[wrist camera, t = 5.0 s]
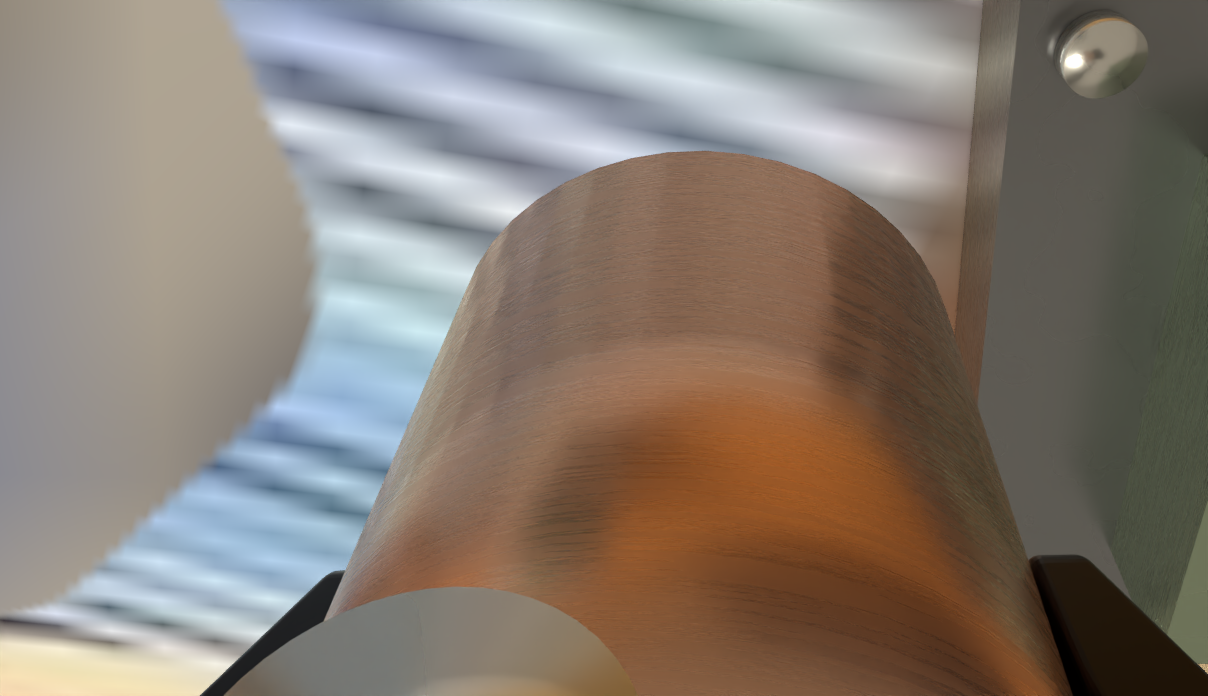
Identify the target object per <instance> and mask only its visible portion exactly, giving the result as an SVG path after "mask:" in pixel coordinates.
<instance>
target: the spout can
mask: <svg viewBox="0 0 1208 696" xmlns="http://www.w3.org/2000/svg"><path fill="white" fill-rule="evenodd" d="M223 696H1073V694H1072V691H1071V688H1070V685H1069V682H1068V679H1067V676H1066V673H1065V670H1064V667H1063V664H1062V661H1061V658H1060V655H1059V652H1058V648H1057V645H1056V642H1055V639H1054V636H1053V633H1052V630H1051V627H1050V624H1049V621H1048V618H1047V615H1046V612H1045V609H1044V606H1043V603H1042V600H1041V597H1040V594H1039V591H1038V588H1037V585H1036V582H1035V579H1034V576H1033V573H1032V570H1031V567H1030V564H1029V561H1028V557H1027V554H1026V551H1025V548H1024V545H1023V542H1022V539H1021V536H1020V533H1019V530H1018V527H1017V524H1016V521H1015V518H1014V515H1013V512H1012V509H1011V506H1010V503H1009V500H1008V497H1007V494H1006V491H1005V488H1004V485H1003V482H1002V479H1001V476H1000V473H999V470H998V467H997V463H996V460H995V457H994V454H993V451H992V448H991V445H990V442H989V439H988V436H987V433H986V430H985V427H984V424H983V421H982V418H981V415H980V412H979V409H978V406H977V403H976V400H975V397H974V394H973V391H972V388H971V385H970V382H969V379H968V376H967V373H966V369H965V366H964V363H963V360H962V357H961V354H960V351H959V348H958V345H957V342H956V339H955V336H954V333H953V330H952V327H951V324H950V321H949V318H948V315H947V312H946V309H945V306H944V304H943V301H942V298H941V296H940V293H939V291H938V288H937V285H936V283H935V281H934V279H933V277H932V276H931V274H930V272H929V271H928V269H927V267H926V265H925V264H924V262H923V260H922V259H921V257H920V255H919V254H918V253H917V252H916V251H915V249H914V248H913V247H912V246H911V244H910V243H909V242H908V241H907V239H906V238H905V237H904V236H903V235H902V233H901V232H900V231H899V230H898V229H897V228H896V227H894V226H893V225H892V224H891V223H890V222H889V221H888V220H887V219H886V218H885V217H883V216H882V215H881V214H880V213H879V212H878V211H877V210H876V209H874V208H873V207H871V206H870V205H868V204H867V203H866V202H864V201H863V200H861V199H860V198H858V197H857V196H855V195H854V194H852V193H851V192H849V191H848V190H846V189H844V188H842V187H840V186H838V185H836V184H834V183H832V182H830V181H828V180H826V179H824V178H822V177H820V176H818V175H816V174H814V173H811V172H808V171H805V170H802V169H799V168H796V167H793V166H790V165H788V164H785V163H782V162H778V161H774V160H769V159H764V158H759V157H754V156H750V155H745V154H736V153H724V152H712V151H691V152H667V153H661V154H655V155H649V156H643V157H637V158H631V159H628V160H624V161H621V162H617V163H614V164H611V165H607V166H604V167H600V168H597V169H595V170H592V171H590V172H588V173H586V174H583V175H581V176H579V177H577V178H574V179H572V180H570V181H568V182H565V183H564V184H562V185H560V186H559V187H557V188H556V189H554V190H552V191H551V192H549V193H547V194H546V195H544V196H542V197H541V198H539V199H538V200H536V201H535V202H534V203H533V204H531V205H530V206H529V207H528V208H527V209H525V210H524V211H523V212H522V213H521V214H519V215H518V216H517V217H516V218H514V219H513V220H512V221H511V222H510V224H509V225H508V226H507V227H506V228H505V229H504V230H503V231H502V232H501V233H500V235H499V236H498V237H497V238H496V239H495V240H494V241H493V242H492V244H491V245H490V247H489V248H488V250H487V252H486V253H485V255H484V256H483V258H482V259H481V261H480V262H479V264H478V265H477V267H476V269H475V271H474V274H473V276H472V278H471V280H470V283H469V285H468V287H467V289H466V291H465V294H464V296H463V298H462V301H461V303H460V305H459V308H458V310H457V312H456V315H455V317H454V319H453V322H452V324H451V326H450V329H449V331H448V333H447V336H446V338H445V340H444V343H443V345H442V347H441V350H440V352H439V354H438V357H437V359H436V361H435V364H434V366H433V368H432V371H431V373H430V375H429V377H428V380H427V382H426V384H425V387H424V389H423V391H422V394H421V396H420V398H419V401H418V403H417V405H416V408H415V410H414V412H413V415H412V417H411V419H410V422H409V424H408V426H407V429H406V431H405V433H404V436H403V438H402V440H401V443H400V445H399V447H398V450H397V452H396V454H395V456H394V459H393V461H392V463H391V466H390V468H389V470H388V473H387V475H386V477H385V480H384V482H383V484H382V487H381V489H380V491H379V494H378V496H377V498H376V501H375V503H374V505H373V508H372V510H371V512H370V515H369V517H368V519H367V522H366V524H365V526H364V529H363V531H362V533H361V536H360V538H359V540H358V542H357V545H356V547H355V549H354V552H353V554H352V556H351V559H350V561H349V563H348V566H347V568H346V570H345V573H344V575H343V577H342V580H341V582H340V584H339V587H338V589H337V591H336V594H335V596H334V598H333V601H332V603H331V605H330V608H329V610H328V612H327V615H326V617H325V619H324V621H323V622H322V623H320V624H318V625H316V626H314V627H313V628H311V629H309V630H307V631H306V632H304V633H302V634H301V635H299V636H297V637H295V638H294V639H292V640H290V641H289V642H288V643H286V644H285V645H283V646H282V647H280V648H279V649H278V650H276V651H275V652H273V653H272V654H270V655H269V656H268V657H266V658H265V659H264V660H262V661H261V662H260V663H259V664H258V665H256V666H255V667H254V668H253V669H252V670H250V671H249V672H248V673H247V674H246V675H244V676H243V677H242V678H241V679H240V680H239V681H238V682H237V683H236V684H235V685H234V686H233V687H232V688H231V689H230V690H229V691H228V692H227V693H226V694H225V695H223Z"/></svg>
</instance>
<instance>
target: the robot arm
mask: <svg viewBox="0 0 1208 696" xmlns="http://www.w3.org/2000/svg"><path fill="white" fill-rule="evenodd" d="M1029 564H1030V567H1031V570H1032V573H1033V576H1034V579H1035V582H1036V585H1037V588H1038V591H1039V594H1040V597H1041V600H1042V603H1043V606H1044V609H1045V612H1046V615H1047V618H1048V621H1049V624H1050V627H1051V630H1052V633H1053V636H1054V639H1055V642H1056V645H1057V648H1058V652H1059V655H1060V658H1061V661H1062V664H1063V667H1064V670H1065V673H1066V676H1067V679H1068V682H1069V685H1070V688H1071V691H1072V694H1073V696H1208V674H1207V673H1206V672H1205V671H1204V670H1203V669H1202V668H1201V667H1200V666H1199V665H1198V664H1197V663H1196V662H1195V661H1194V660H1193V659H1192V658H1191V657H1190V656H1188V655H1187V654H1186V653H1185V652H1184V651H1183V650H1182V649H1181V648H1180V647H1179V646H1178V645H1177V644H1176V643H1175V642H1174V641H1173V640H1172V639H1171V638H1170V637H1169V636H1168V635H1167V634H1166V633H1165V632H1164V631H1163V630H1162V629H1161V628H1159V627H1158V626H1157V625H1156V624H1155V623H1154V622H1153V621H1152V620H1151V619H1150V618H1149V617H1148V616H1147V615H1146V614H1145V613H1144V612H1143V611H1142V610H1141V609H1140V608H1139V607H1138V606H1137V605H1136V604H1135V603H1134V602H1133V601H1132V600H1130V599H1129V598H1128V597H1127V596H1126V595H1125V594H1124V593H1123V592H1122V591H1121V590H1120V589H1119V588H1118V587H1117V586H1116V585H1115V584H1114V583H1113V582H1112V581H1111V580H1110V579H1109V578H1108V577H1107V576H1106V575H1105V574H1104V573H1103V572H1102V571H1100V570H1099V569H1098V568H1097V567H1096V566H1095V565H1094V564H1093V563H1092V562H1091V561H1090V560H1088V559H1087V558H1085V557H1083V556H1080V555H1074V554H1070V555H1037V556H1033V557H1032V558H1030V559H1029ZM344 573H345V570H343V571H334V572H331V573H330V574H328V575H327V576H325V577H324V578H323V579H322V580H321V581H319V582H318V583H317V584H316V585H315V586H314V587H313V588H312V589H311V590H310V591H309V592H308V593H307V594H306V595H305V596H304V597H303V598H302V599H301V600H300V601H299V602H297V603H296V604H295V605H294V606H293V607H292V608H291V609H290V610H289V611H288V612H287V613H286V614H285V615H284V616H283V617H282V618H281V619H280V620H279V621H278V622H277V623H275V624H274V625H273V626H272V627H271V628H270V629H269V630H268V631H267V632H266V633H265V634H264V635H263V636H262V637H261V638H260V639H259V640H258V641H257V642H256V643H254V644H253V645H252V646H251V647H250V648H249V649H248V650H247V651H246V652H245V653H244V654H243V655H242V656H241V657H240V658H239V659H238V660H237V661H236V662H235V663H234V664H232V665H231V666H230V667H229V668H228V669H227V670H226V671H225V672H224V673H223V674H222V675H221V676H220V677H219V678H218V679H217V680H216V681H215V682H214V683H213V684H212V685H210V686H209V687H208V688H207V689H206V690H205V691H204V692H203V693H202V694H201V695H200V696H223V695H225V694H226V693H227V692H228V691H229V690H230V689H231V688H232V687H233V686H234V685H235V684H236V683H237V682H238V681H239V680H240V679H241V678H242V677H243V676H244V675H246V674H247V673H248V672H249V671H250V670H252V669H253V668H254V667H255V666H256V665H258V664H259V663H260V662H261V661H262V660H264V659H265V658H266V657H268V656H269V655H270V654H272V653H273V652H275V651H276V650H278V649H279V648H280V647H282V646H283V645H285V644H286V643H288V642H289V641H290V640H292V639H294V638H295V637H297V636H299V635H301V634H302V633H304V632H306V631H307V630H309V629H311V628H313V627H314V626H316V625H318V624H320V623H322V622H323V621H324V619H325V617H326V615H327V612H328V610H329V608H330V605H331V603H332V601H333V598H334V596H335V594H336V591H337V589H338V587H339V584H340V582H341V580H342V577H343V575H344Z"/></svg>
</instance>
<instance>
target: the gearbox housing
mask: <svg viewBox="0 0 1208 696" xmlns="http://www.w3.org/2000/svg"><path fill="white" fill-rule="evenodd" d="M955 339H956V342H957V345H958V348H959V351H960V354H961V357H962V360H963V363H964V366H965V369H966V373H967V376H968V379H969V382H970V385H971V388H972V391H973V394H974V397H975V400H976V403H977V406H978V409H979V412H980V415H981V418H982V421H983V424H984V427H985V430H986V433H987V436H988V439H989V442H990V445H991V448H992V451H993V454H994V457H995V460H996V463H997V467H998V470H999V473H1000V476H1001V479H1002V482H1003V485H1004V488H1005V491H1006V494H1007V497H1008V500H1009V503H1010V506H1011V509H1012V512H1013V515H1014V518H1015V521H1016V524H1017V527H1018V530H1019V533H1020V536H1021V539H1022V542H1023V545H1024V548H1025V551H1026V554H1027V557H1028V561H1029V559H1030V558H1032V557H1033V556H1037V555H1070V554H1074V555H1080V556H1083V557H1085V558H1087V559H1088V560H1090V561H1091V562H1092V563H1093V564H1094V565H1095V566H1096V567H1097V568H1098V569H1099V570H1100V571H1102V572H1103V573H1104V574H1105V575H1106V576H1107V577H1108V578H1109V579H1110V580H1111V581H1112V582H1113V583H1114V584H1115V585H1116V586H1117V587H1118V588H1119V589H1120V590H1121V591H1122V592H1123V593H1124V594H1125V595H1126V596H1127V597H1128V598H1129V599H1130V600H1132V601H1133V602H1134V603H1135V604H1136V605H1137V606H1138V607H1139V608H1140V609H1141V610H1142V611H1143V612H1144V613H1145V614H1146V615H1147V616H1148V617H1149V618H1150V619H1151V620H1152V621H1153V622H1154V623H1155V624H1156V625H1157V626H1158V627H1159V628H1161V629H1162V630H1163V631H1164V632H1165V633H1166V634H1167V635H1168V636H1169V637H1170V638H1171V639H1172V640H1173V641H1174V642H1175V643H1176V644H1177V645H1178V646H1179V647H1180V648H1181V649H1182V650H1183V651H1184V652H1185V653H1186V654H1187V655H1188V656H1190V657H1191V658H1192V659H1193V660H1194V661H1195V662H1196V663H1197V664H1208V0H983V11H982V23H981V34H980V46H979V58H978V70H977V81H976V93H975V105H974V117H973V128H972V140H971V152H970V163H969V175H968V187H967V199H966V210H965V222H964V234H963V245H962V257H961V269H960V281H959V292H958V304H957V316H956V328H955Z"/></svg>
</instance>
